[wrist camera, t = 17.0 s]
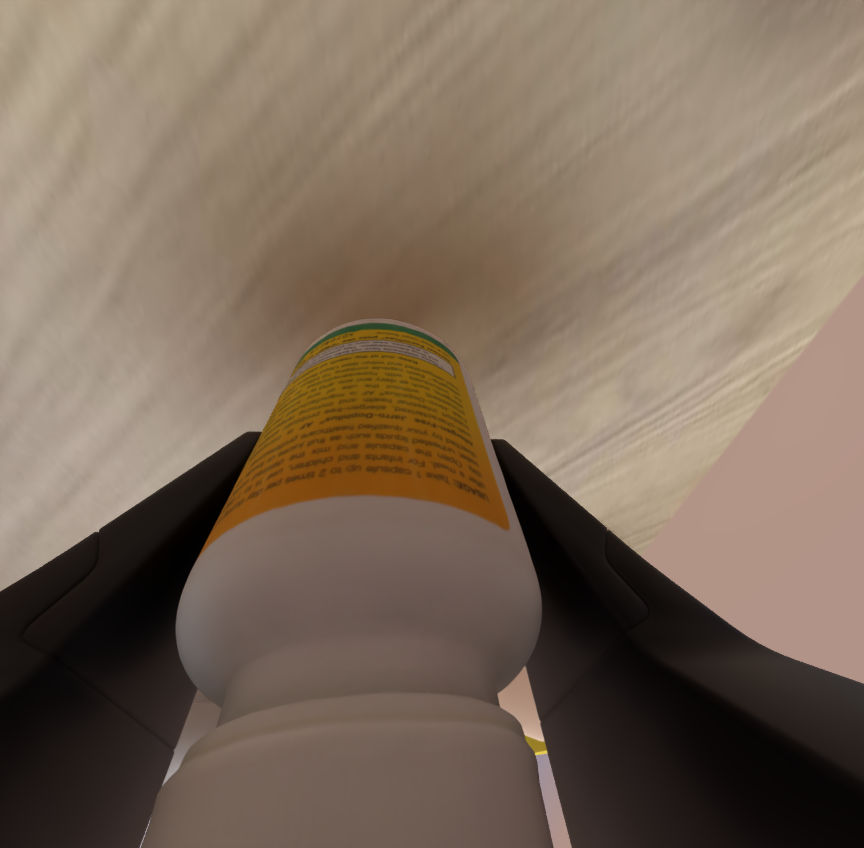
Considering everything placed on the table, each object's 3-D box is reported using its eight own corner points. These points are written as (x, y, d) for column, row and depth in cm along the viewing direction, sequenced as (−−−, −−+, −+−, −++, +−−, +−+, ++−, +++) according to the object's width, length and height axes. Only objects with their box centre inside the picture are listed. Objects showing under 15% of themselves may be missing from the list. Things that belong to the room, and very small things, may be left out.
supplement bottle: (494, 420, 12) (679, 900, 4) (361, 481, 13) (311, 942, 5) (416, 271, 9) (565, 1028, 1) (252, 368, 10) (-232, 1060, 2)
